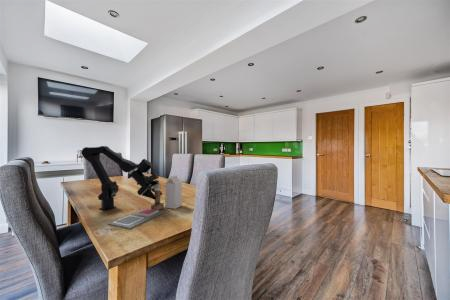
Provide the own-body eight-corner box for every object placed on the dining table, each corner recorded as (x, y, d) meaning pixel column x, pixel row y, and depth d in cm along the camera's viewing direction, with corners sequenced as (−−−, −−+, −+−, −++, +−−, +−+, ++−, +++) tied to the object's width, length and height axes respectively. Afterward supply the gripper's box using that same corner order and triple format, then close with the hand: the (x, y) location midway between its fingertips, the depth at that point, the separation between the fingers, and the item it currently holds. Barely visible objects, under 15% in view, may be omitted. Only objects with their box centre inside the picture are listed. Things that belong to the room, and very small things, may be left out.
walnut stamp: (151, 209, 110) (151, 184, 110) (156, 207, 114) (156, 183, 114) (158, 210, 108) (158, 185, 108) (163, 208, 113) (163, 183, 113)
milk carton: (181, 205, 118) (181, 175, 118) (175, 209, 111) (175, 177, 111) (172, 204, 120) (172, 175, 120) (165, 207, 113) (165, 176, 113)
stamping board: (107, 224, 88) (107, 220, 88) (144, 209, 110) (144, 206, 110) (130, 229, 83) (130, 225, 83) (164, 212, 105) (164, 209, 105)
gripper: (142, 170, 102) (162, 191, 102) (156, 167, 121) (173, 184, 120) (128, 185, 102) (148, 205, 102) (144, 179, 121) (161, 196, 121)
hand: (159, 197), depth 111 cm, fingers open, 9 cm apart
